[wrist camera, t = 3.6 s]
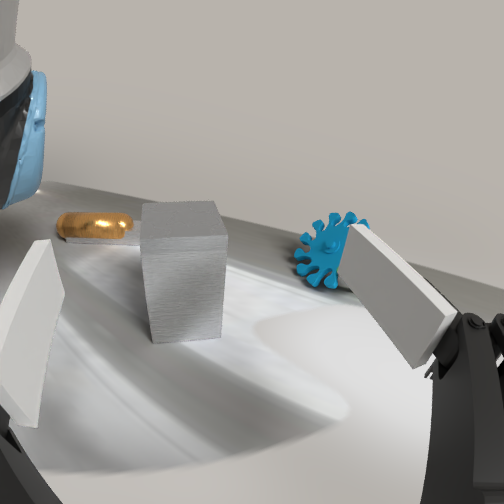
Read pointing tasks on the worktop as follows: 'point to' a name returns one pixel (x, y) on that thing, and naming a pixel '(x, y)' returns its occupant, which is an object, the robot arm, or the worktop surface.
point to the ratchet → (99, 228)
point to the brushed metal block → (183, 269)
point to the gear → (325, 249)
